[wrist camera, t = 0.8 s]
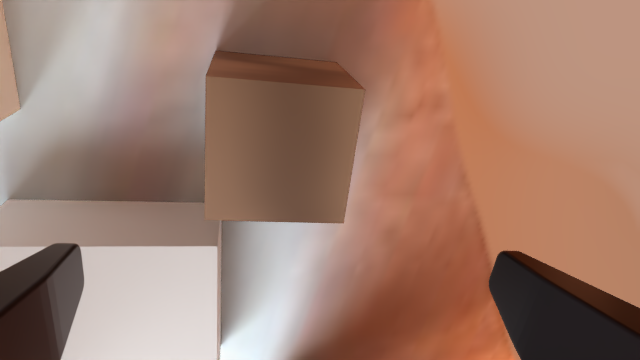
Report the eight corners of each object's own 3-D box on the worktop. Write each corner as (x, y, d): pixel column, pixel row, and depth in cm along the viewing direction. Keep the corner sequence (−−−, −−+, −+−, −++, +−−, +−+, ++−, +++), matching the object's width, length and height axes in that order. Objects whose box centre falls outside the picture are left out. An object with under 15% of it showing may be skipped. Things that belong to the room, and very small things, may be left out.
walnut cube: (213, 164, 19) (204, 219, 15) (215, 50, 17) (205, 76, 13) (321, 169, 20) (343, 223, 16) (335, 62, 18) (365, 89, 14)
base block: (44, 349, 23) (6, 419, 19) (11, 195, 19) (-43, 246, 15) (220, 342, 24) (216, 405, 21) (222, 199, 21) (217, 246, 17)
